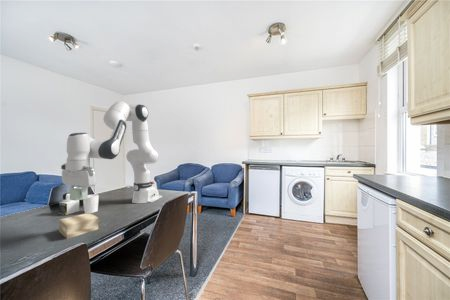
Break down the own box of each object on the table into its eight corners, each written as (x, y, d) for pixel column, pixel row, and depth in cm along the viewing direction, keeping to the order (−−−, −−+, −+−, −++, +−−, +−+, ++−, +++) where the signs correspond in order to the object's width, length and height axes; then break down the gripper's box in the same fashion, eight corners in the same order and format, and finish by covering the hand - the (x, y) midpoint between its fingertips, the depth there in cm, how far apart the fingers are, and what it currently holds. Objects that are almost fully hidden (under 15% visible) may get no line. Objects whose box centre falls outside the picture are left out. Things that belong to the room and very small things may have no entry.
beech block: (89, 223, 97) (89, 212, 97) (98, 229, 90) (98, 217, 90) (59, 232, 87) (59, 219, 87) (67, 239, 80) (66, 225, 80)
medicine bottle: (58, 213, 111) (58, 194, 110) (71, 210, 117) (71, 191, 117) (66, 215, 108) (66, 195, 108) (79, 211, 115) (79, 192, 115)
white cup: (90, 214, 110) (90, 197, 109) (79, 213, 111) (79, 197, 111) (101, 210, 117) (101, 194, 117) (91, 209, 119) (91, 193, 119)
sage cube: (81, 197, 91) (81, 187, 91) (87, 198, 90) (87, 187, 89) (69, 199, 87) (69, 189, 87) (76, 200, 85) (76, 190, 85)
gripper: (99, 166, 87) (99, 195, 87) (73, 164, 95) (73, 191, 95) (85, 167, 81) (85, 198, 81) (58, 165, 89) (58, 194, 89)
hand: (78, 194), depth 88 cm, fingers closed on sage cube, 5 cm apart
